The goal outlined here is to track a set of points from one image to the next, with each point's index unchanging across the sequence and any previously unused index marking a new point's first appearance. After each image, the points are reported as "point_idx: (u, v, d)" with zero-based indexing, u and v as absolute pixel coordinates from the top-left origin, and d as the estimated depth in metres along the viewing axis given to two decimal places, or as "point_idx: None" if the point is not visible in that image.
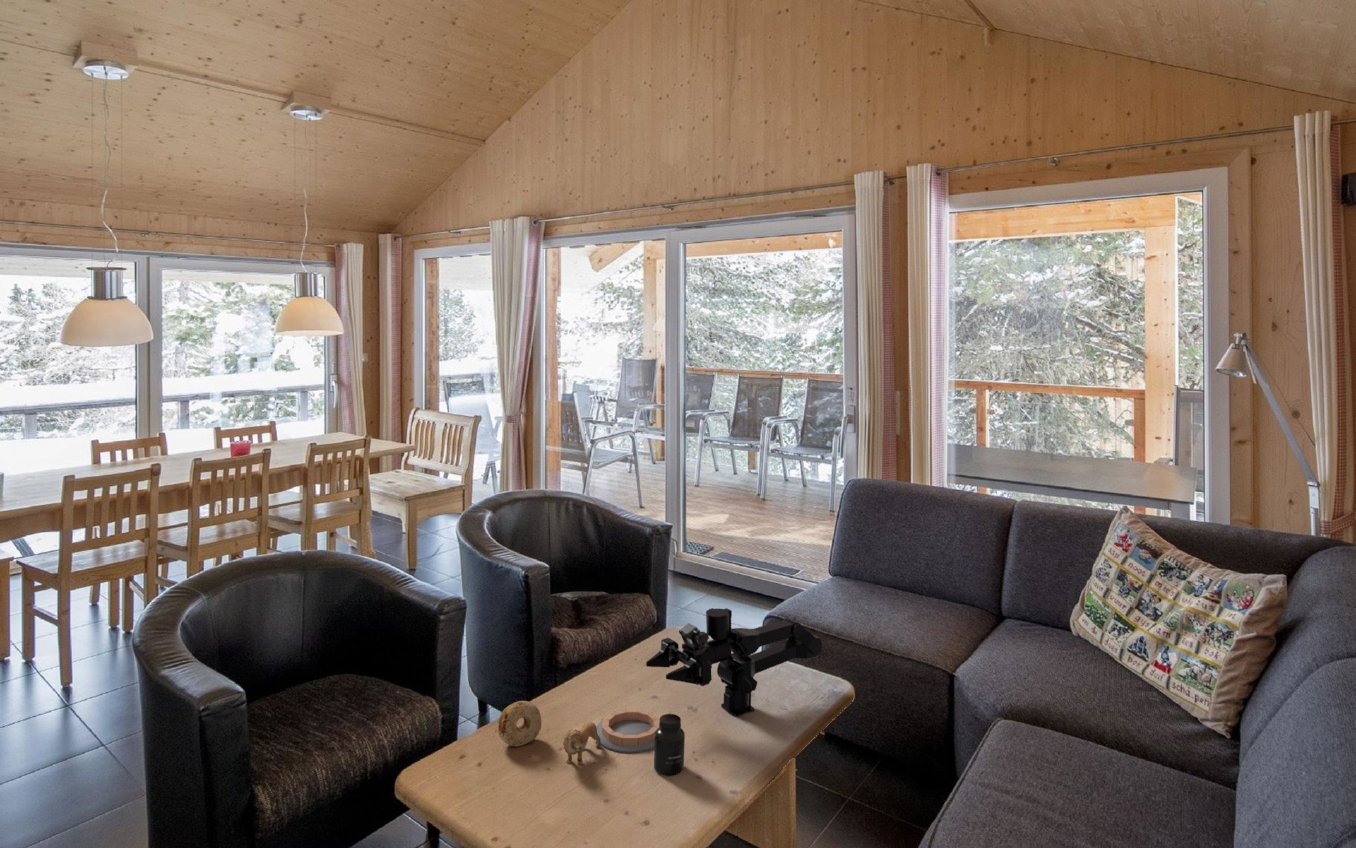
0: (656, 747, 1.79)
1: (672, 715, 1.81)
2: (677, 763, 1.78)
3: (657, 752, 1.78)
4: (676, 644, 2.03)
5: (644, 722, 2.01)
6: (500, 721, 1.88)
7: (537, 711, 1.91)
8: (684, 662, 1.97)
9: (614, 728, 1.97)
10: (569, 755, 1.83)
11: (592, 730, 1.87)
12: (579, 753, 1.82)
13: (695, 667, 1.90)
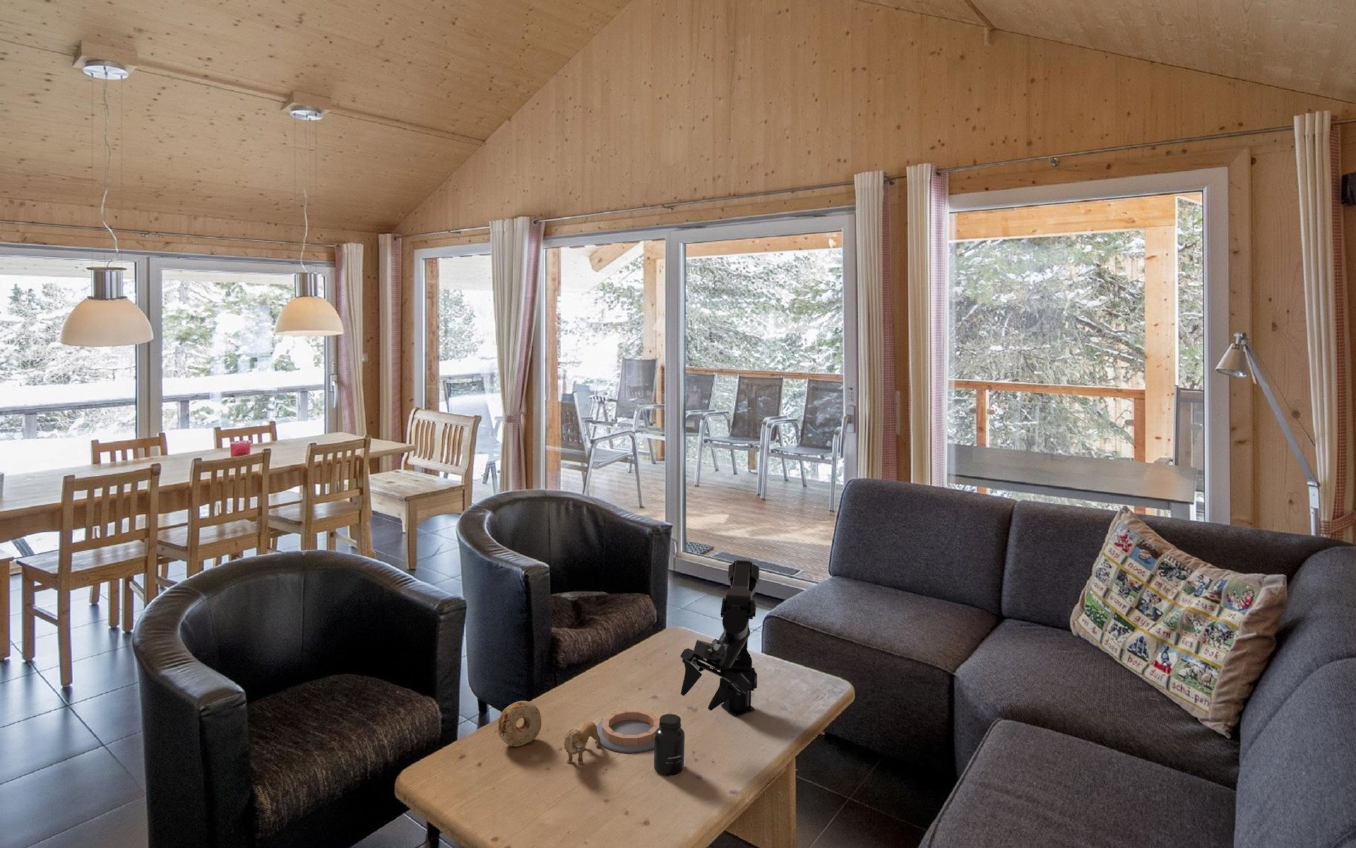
0: (656, 747, 1.79)
1: (672, 715, 1.81)
2: (677, 763, 1.78)
3: (657, 752, 1.78)
4: (696, 654, 1.91)
5: (644, 722, 2.01)
6: (500, 721, 1.88)
7: (537, 711, 1.91)
8: (714, 673, 1.87)
9: (614, 728, 1.97)
10: (570, 755, 1.83)
11: (592, 730, 1.87)
12: (580, 753, 1.82)
13: (730, 686, 1.81)
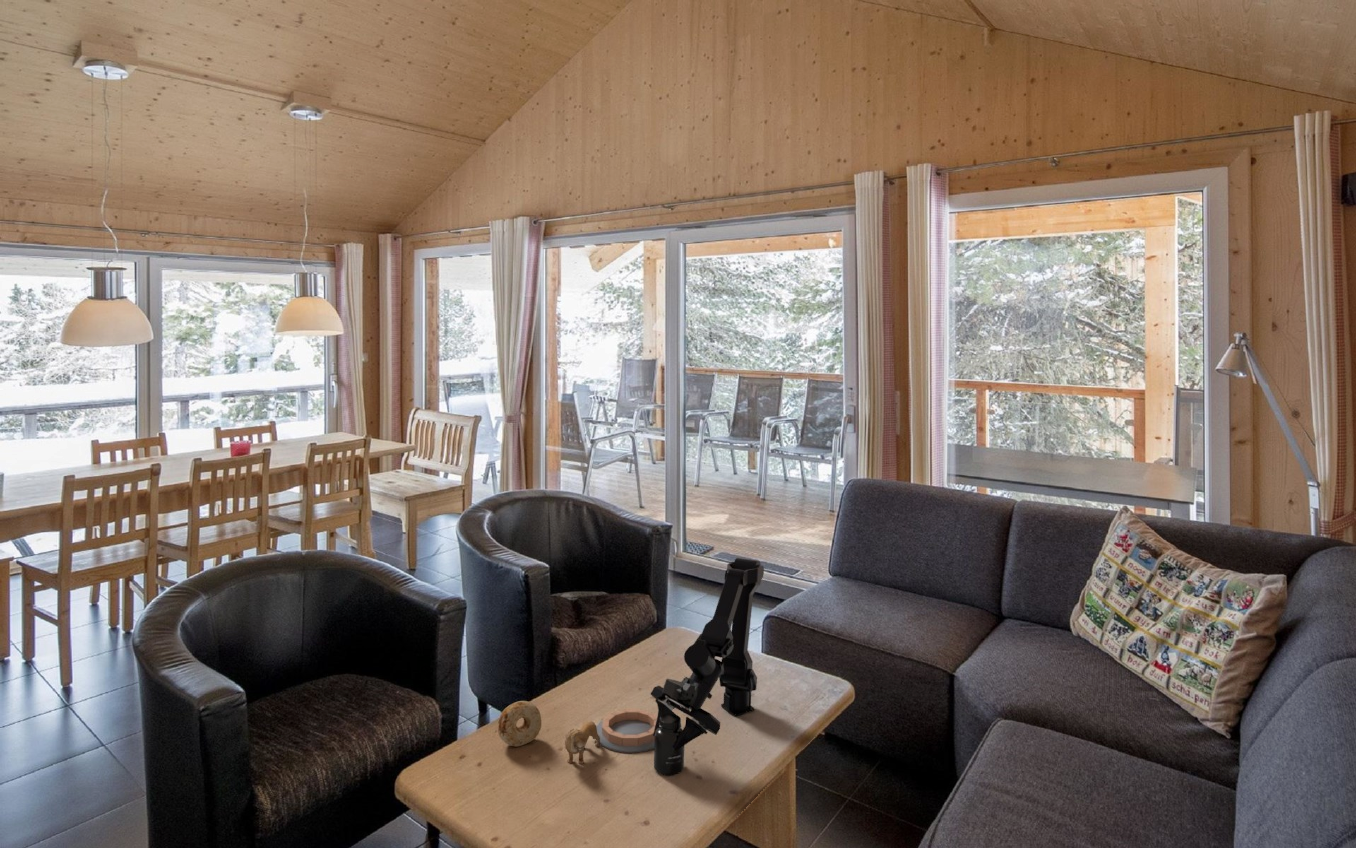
0: (656, 747, 1.79)
1: (672, 715, 1.81)
2: (677, 763, 1.78)
3: (657, 752, 1.78)
4: None
5: (644, 722, 2.01)
6: (500, 721, 1.88)
7: (537, 711, 1.91)
8: (685, 713, 1.82)
9: (614, 728, 1.97)
10: (570, 755, 1.83)
11: (592, 729, 1.87)
12: (580, 752, 1.83)
13: (696, 725, 1.76)
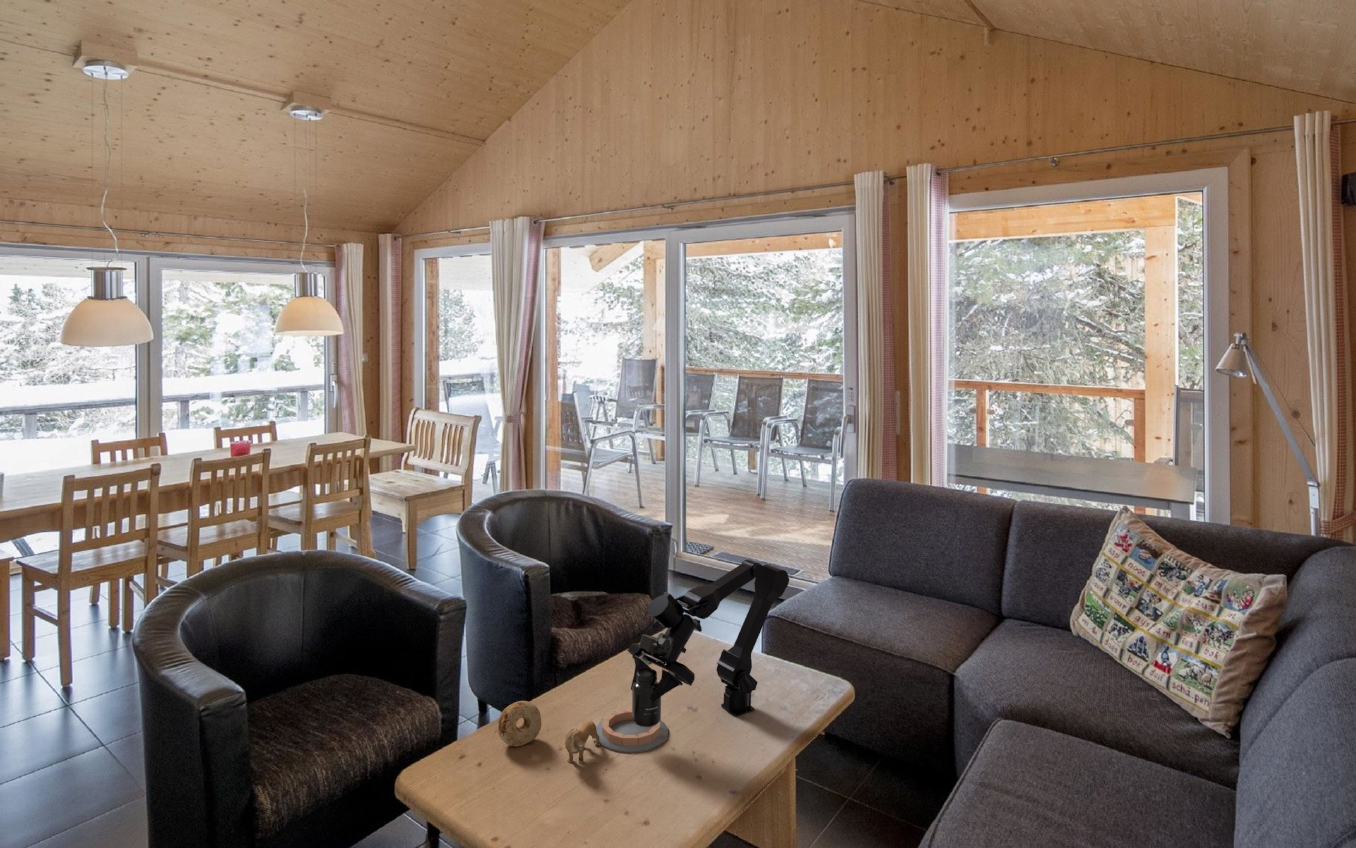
0: (634, 700, 1.87)
1: (648, 669, 1.90)
2: (654, 714, 1.87)
3: (635, 704, 1.87)
4: (642, 648, 1.94)
5: None
6: (500, 721, 1.88)
7: (537, 711, 1.91)
8: None
9: (614, 728, 1.97)
10: (570, 754, 1.83)
11: (591, 728, 1.87)
12: (581, 752, 1.83)
13: (671, 677, 1.85)
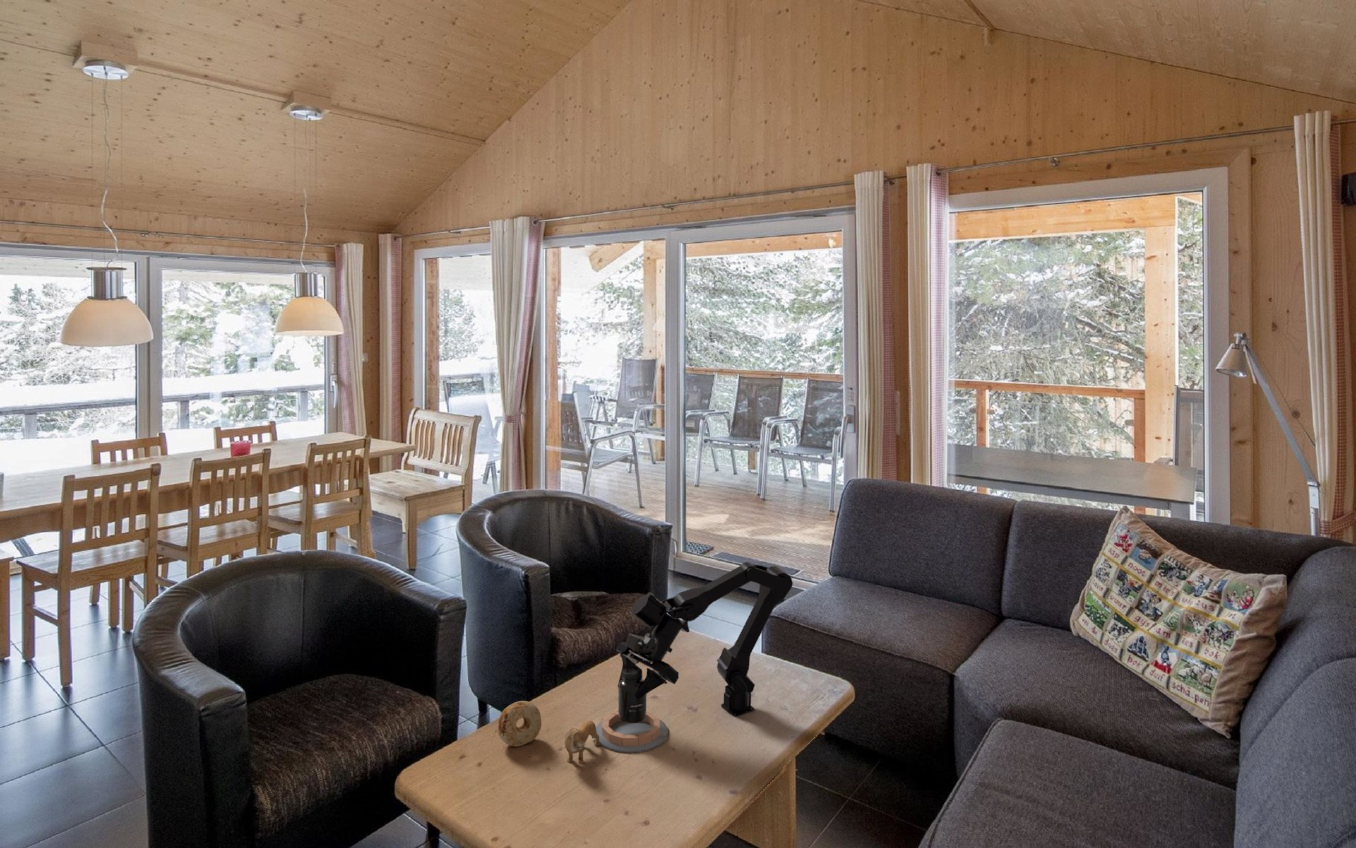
0: (620, 697, 1.93)
1: (634, 668, 1.96)
2: (639, 711, 1.93)
3: (621, 701, 1.93)
4: (630, 647, 2.01)
5: (644, 722, 2.01)
6: (500, 721, 1.88)
7: (537, 711, 1.91)
8: (646, 665, 1.97)
9: (614, 728, 1.97)
10: (570, 754, 1.83)
11: (591, 728, 1.88)
12: (580, 752, 1.83)
13: (655, 675, 1.91)
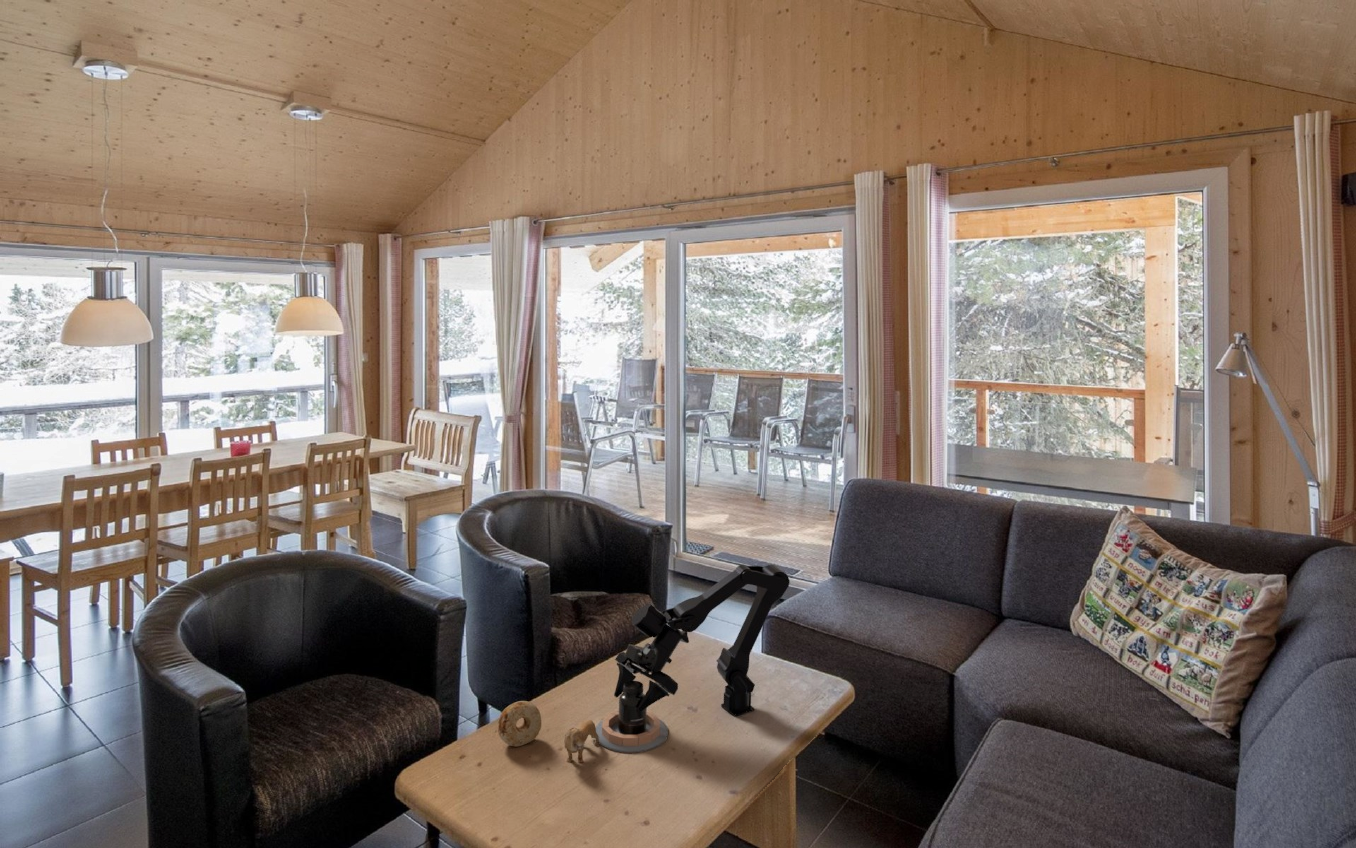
0: (620, 711, 1.94)
1: (635, 682, 1.96)
2: (639, 725, 1.93)
3: (621, 715, 1.93)
4: (629, 657, 2.01)
5: None
6: (500, 721, 1.88)
7: (537, 711, 1.91)
8: (646, 676, 1.97)
9: (614, 728, 1.97)
10: (570, 754, 1.84)
11: (591, 728, 1.88)
12: (580, 751, 1.83)
13: (658, 688, 1.90)
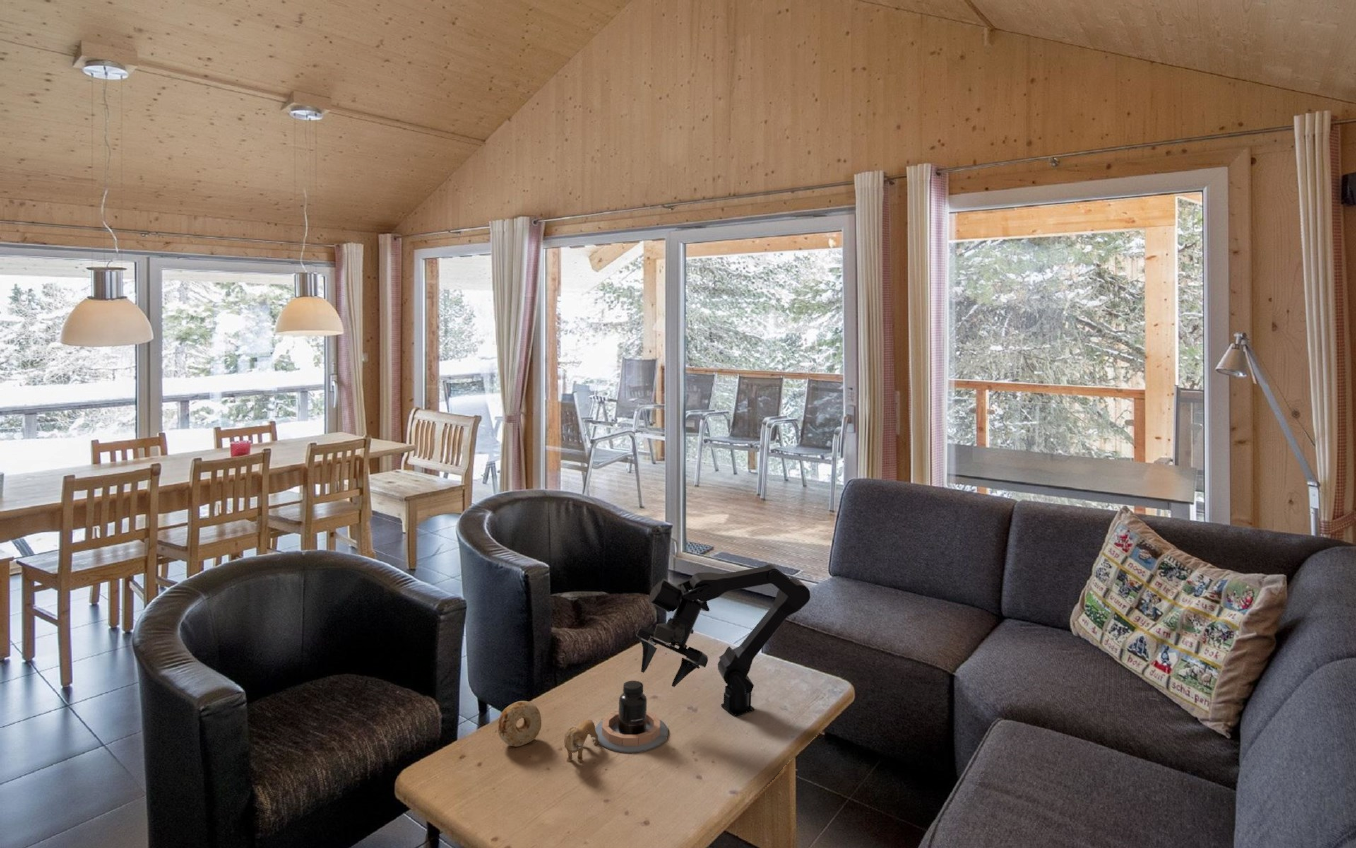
0: (620, 711, 1.94)
1: (635, 682, 1.96)
2: (639, 725, 1.93)
3: (621, 715, 1.93)
4: (652, 633, 2.01)
5: None
6: (500, 721, 1.88)
7: (537, 711, 1.91)
8: None
9: (614, 728, 1.97)
10: (569, 753, 1.84)
11: (590, 727, 1.88)
12: (580, 751, 1.83)
13: (691, 664, 1.94)
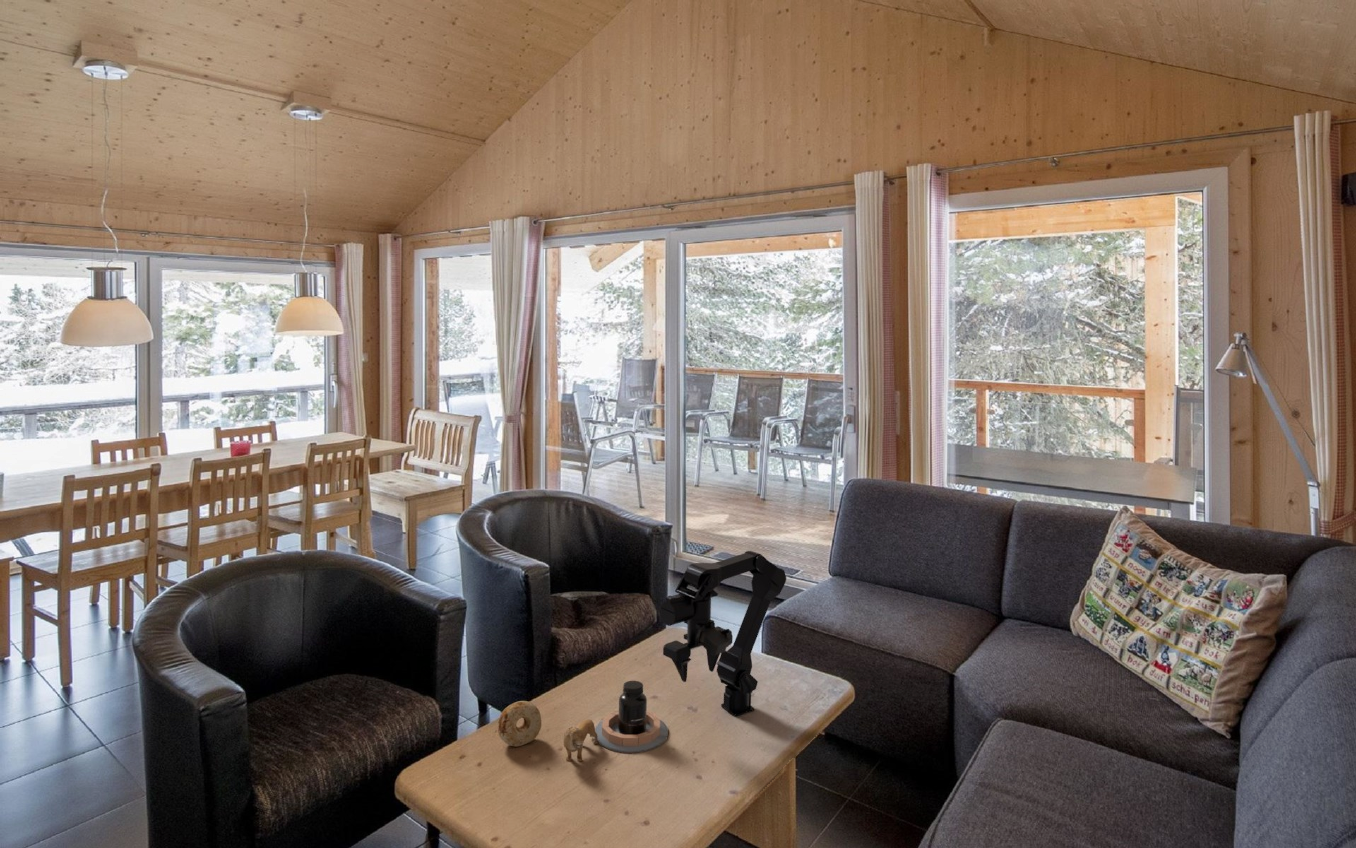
0: (620, 711, 1.94)
1: (635, 682, 1.96)
2: (639, 725, 1.93)
3: (621, 715, 1.93)
4: None
5: None
6: (500, 721, 1.88)
7: (537, 711, 1.91)
8: None
9: (614, 728, 1.97)
10: (569, 753, 1.84)
11: (590, 727, 1.88)
12: (579, 750, 1.84)
13: None
